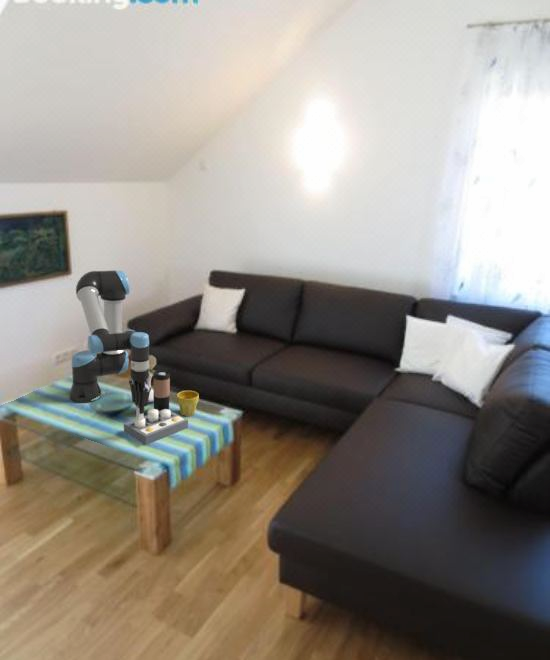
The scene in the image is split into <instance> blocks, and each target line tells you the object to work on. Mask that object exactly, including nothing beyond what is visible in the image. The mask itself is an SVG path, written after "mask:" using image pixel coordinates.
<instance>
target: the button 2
mask: <svg viewBox="0 0 550 660" xmlns="http://www.w3.org/2000/svg"><path fill="white" fill-rule="evenodd" d="M147 415H148V422H149V423H151V424H153V423H156V422H158V410H157V409H154V408H151V409H150V408H149V409H148V410H147Z"/></svg>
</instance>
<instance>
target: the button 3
mask: <svg viewBox="0 0 550 660" xmlns="http://www.w3.org/2000/svg"><path fill="white" fill-rule="evenodd" d="M171 412H172V411H171V410H170V409H169V410H168V409H163V410H161V416H160V417H161V418H163V419H167V418H169V417H171Z"/></svg>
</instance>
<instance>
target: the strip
mask: <svg viewBox="0 0 550 660" xmlns="http://www.w3.org/2000/svg"><path fill="white" fill-rule="evenodd" d="M179 416H180V415H179ZM179 416H177V417H174V418H172V419H169V420H166V421H164V422H161V423H158V424H156V425H153V426H150V427H148V428H145V429H142V430H140V431H141V432H142V433H144V434H149V433H152V432H154V431H157V430H159V429H162V428H165V427H167V426H170V425H172V424H175V423H178V422H180V421H183V420H185V419H186V418H185V419H183V418H184V417H183V418H181V417H182V416H181V417H179Z"/></svg>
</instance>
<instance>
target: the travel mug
mask: <svg viewBox="0 0 550 660" xmlns="http://www.w3.org/2000/svg"><path fill="white" fill-rule="evenodd" d="M170 378H171V373H170V371H169V370H166V371H165V370H163V369H158V370H155V372H154V375H153V390H154V391H153V397H154V402H153V409H157V410H158V411H161V410H163V409H168V410H170V397H171V395H170V394H171V392H170V391H171V390H170V389H171V387H170V386H171V385H170V384H171V379H170Z"/></svg>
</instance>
